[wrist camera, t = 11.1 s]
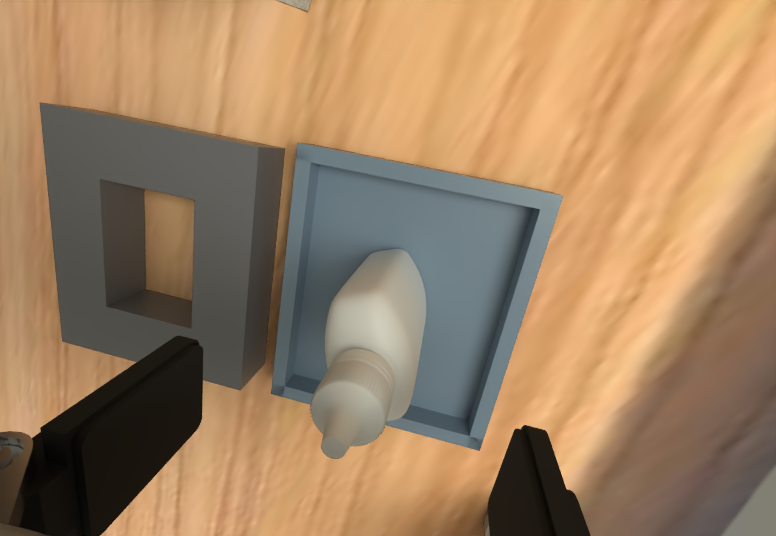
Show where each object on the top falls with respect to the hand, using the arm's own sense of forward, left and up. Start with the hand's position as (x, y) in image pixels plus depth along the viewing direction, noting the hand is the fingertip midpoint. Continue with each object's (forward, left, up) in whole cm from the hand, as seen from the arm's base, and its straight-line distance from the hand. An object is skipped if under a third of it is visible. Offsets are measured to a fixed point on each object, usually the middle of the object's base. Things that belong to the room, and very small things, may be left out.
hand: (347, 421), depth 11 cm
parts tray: (+1, 0, -12) cm, 12 cm away
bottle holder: (+1, -14, -12) cm, 18 cm away
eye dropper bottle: (0, 0, -11) cm, 11 cm away
